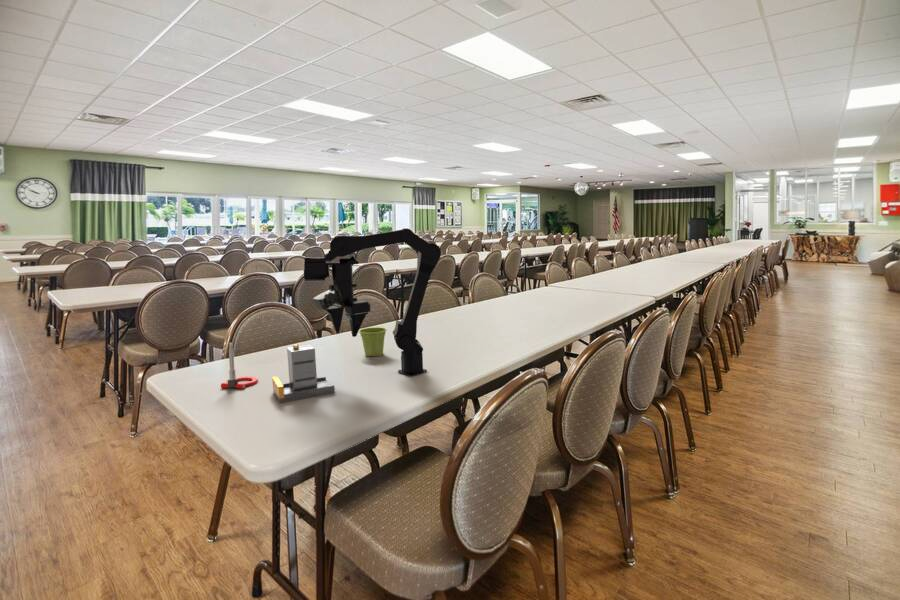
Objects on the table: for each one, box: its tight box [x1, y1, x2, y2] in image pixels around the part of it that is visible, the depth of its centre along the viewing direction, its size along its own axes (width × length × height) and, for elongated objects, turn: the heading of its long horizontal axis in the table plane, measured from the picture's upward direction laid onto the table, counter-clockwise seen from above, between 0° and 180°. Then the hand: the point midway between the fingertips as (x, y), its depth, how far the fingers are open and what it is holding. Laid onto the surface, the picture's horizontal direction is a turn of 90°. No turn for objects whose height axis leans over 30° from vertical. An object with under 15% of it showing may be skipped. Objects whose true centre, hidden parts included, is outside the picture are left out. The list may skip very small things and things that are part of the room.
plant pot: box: [358, 326, 388, 357], centre depth 161 cm, size 9×9×9 cm
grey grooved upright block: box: [286, 343, 318, 392], centre depth 124 cm, size 6×6×12 cm
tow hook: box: [220, 342, 259, 390], centre depth 133 cm, size 8×13×9 cm
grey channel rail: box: [271, 375, 336, 404], centre depth 125 cm, size 14×9×4 cm
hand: (345, 334), depth 135 cm, fingers open, 9 cm apart
